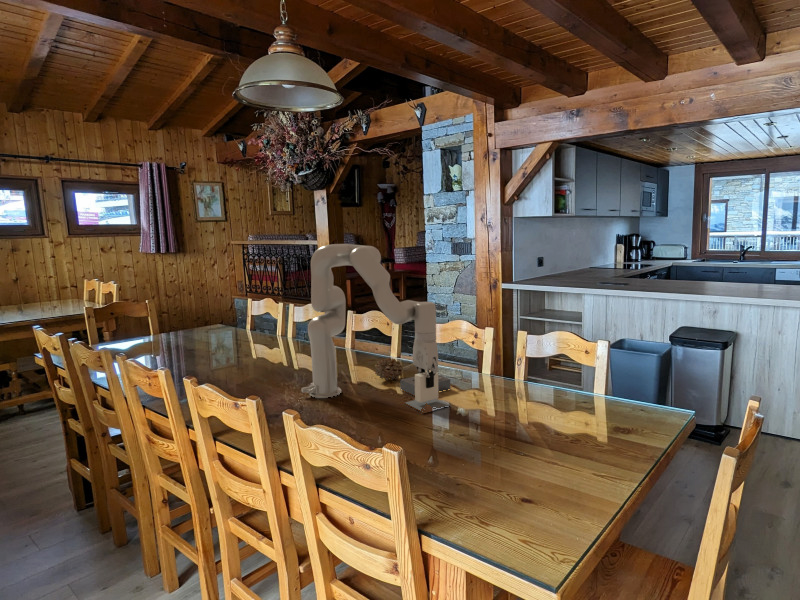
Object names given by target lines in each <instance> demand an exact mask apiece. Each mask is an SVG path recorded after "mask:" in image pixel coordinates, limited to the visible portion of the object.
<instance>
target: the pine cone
mask: <svg viewBox="0 0 800 600" xmlns="http://www.w3.org/2000/svg"><path fill="white" fill-rule="evenodd" d="M374 367H375V368H374V370H375V375H376V377H377V376H378V377H379V378H380V379H381V380H384V381H388V380H390V379H391V380H392V381H394V379H395V380H396V379H397V380H398V378H400V377H402V376H403V371H405V370H408V369H411V368H414V367H416V366H415V365H414V364H413V363H411V364H409V365H406V366H404V365H403V364H401V362H400V360H397V359H395V358H391V357H386V358H385V357H384V358H382V359H380V360H377V364H375V365H374ZM391 380H390V381H391Z"/></svg>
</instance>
